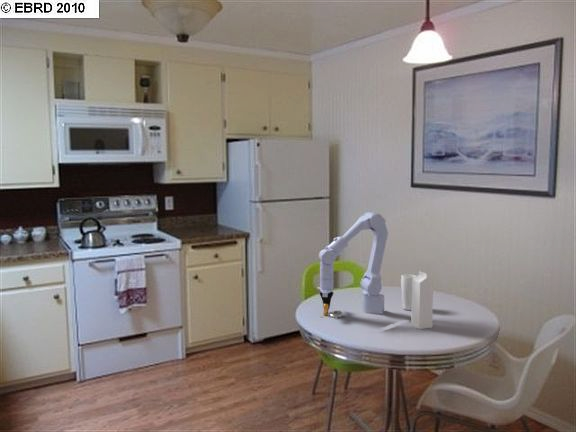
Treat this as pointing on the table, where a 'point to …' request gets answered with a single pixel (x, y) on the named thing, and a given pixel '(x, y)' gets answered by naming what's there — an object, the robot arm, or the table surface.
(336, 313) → the dial
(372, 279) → the robot arm
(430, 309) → the milk
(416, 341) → the table surface
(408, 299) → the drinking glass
